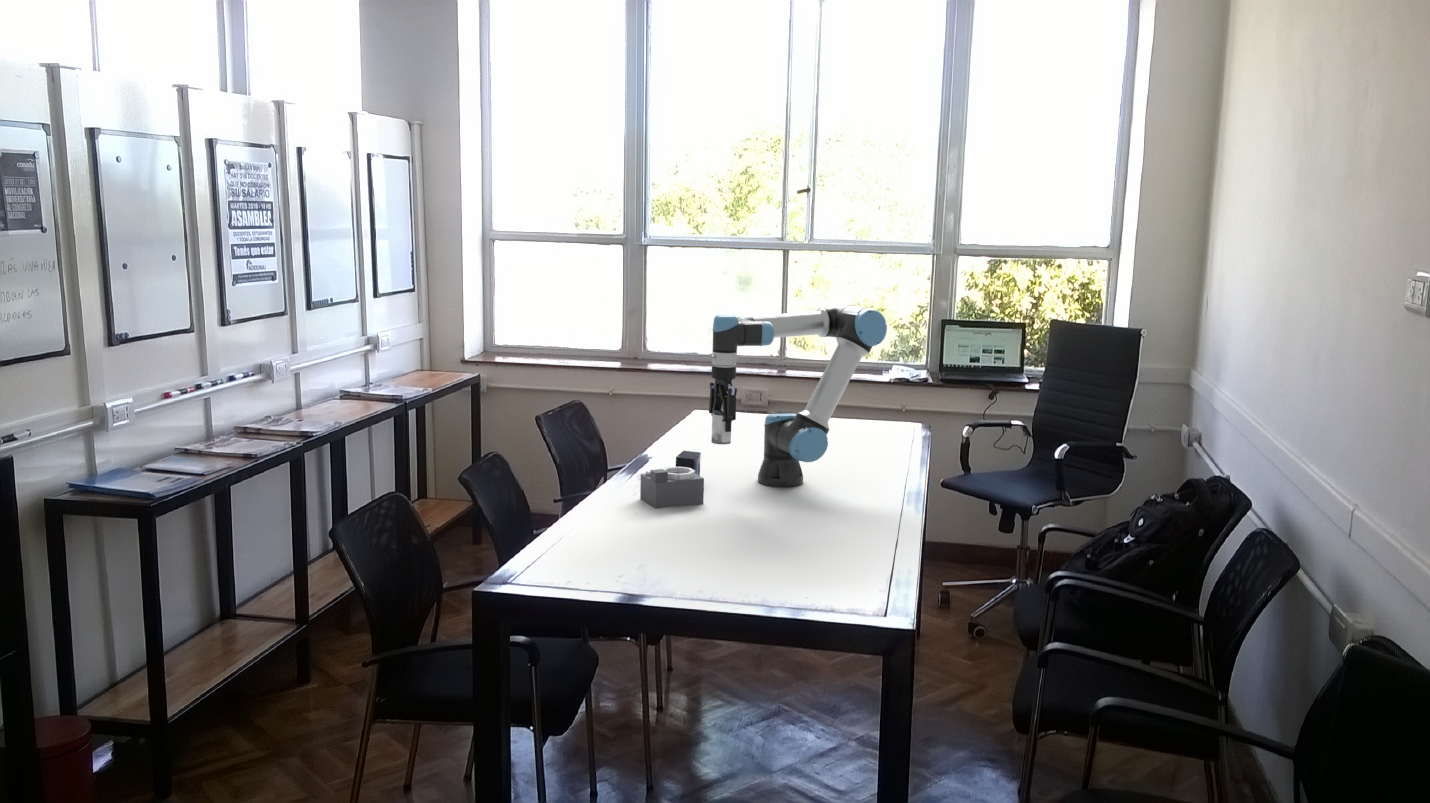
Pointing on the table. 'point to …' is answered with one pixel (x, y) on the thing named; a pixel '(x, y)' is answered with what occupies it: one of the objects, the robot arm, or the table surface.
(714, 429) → the lens
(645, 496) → the camera body
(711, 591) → the table surface
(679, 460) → the small box
